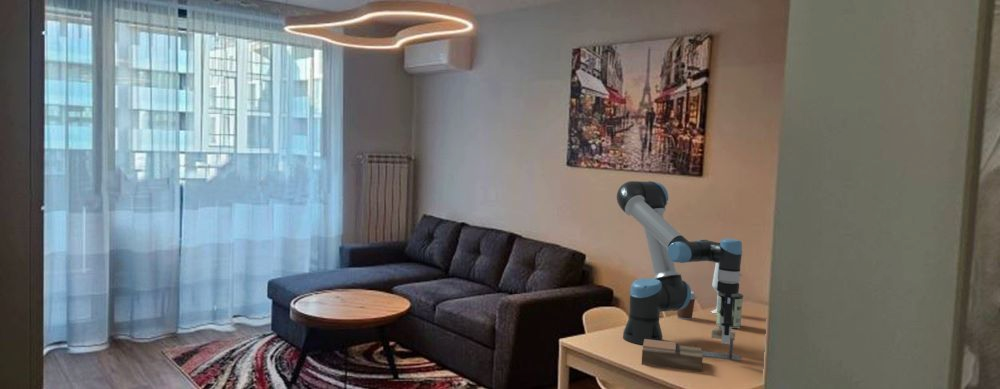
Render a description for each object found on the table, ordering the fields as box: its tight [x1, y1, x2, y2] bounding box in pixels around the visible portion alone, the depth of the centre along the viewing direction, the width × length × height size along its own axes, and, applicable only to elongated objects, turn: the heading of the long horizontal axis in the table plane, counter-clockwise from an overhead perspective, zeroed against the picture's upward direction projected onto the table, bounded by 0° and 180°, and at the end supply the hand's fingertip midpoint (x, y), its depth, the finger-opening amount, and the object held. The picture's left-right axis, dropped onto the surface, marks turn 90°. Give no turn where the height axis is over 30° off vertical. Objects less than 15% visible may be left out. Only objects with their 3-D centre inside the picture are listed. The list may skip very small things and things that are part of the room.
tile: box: [642, 339, 677, 353], centre depth 237 cm, size 9×11×1 cm
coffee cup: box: [676, 290, 697, 321], centre depth 302 cm, size 9×9×12 cm
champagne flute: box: [710, 262, 719, 314], centre depth 315 cm, size 7×7×24 cm
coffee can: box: [715, 292, 744, 329], centre depth 292 cm, size 10×10×14 cm
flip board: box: [641, 343, 703, 373], centre depth 236 cm, size 12×20×6 cm, turn 76°
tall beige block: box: [702, 327, 742, 362], centre depth 247 cm, size 15×6×10 cm, turn 76°
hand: (724, 338), depth 246 cm, fingers open, 13 cm apart
